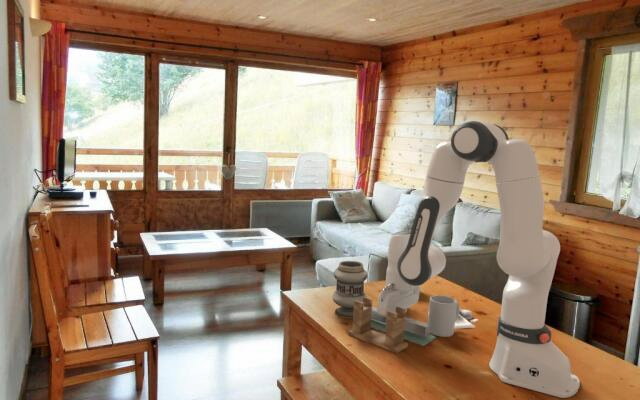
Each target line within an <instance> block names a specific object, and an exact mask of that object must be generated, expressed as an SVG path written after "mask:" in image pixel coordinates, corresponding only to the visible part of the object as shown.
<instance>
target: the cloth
mask: <svg viewBox="0 0 640 400" xmlns="http://www.w3.org/2000/svg"><path fill="white" fill-rule="evenodd" d="M427 314H428V316H429V311H428V312H427ZM468 320H469V321H470V322H469V321H468ZM478 321H479V319H478V318H474V319H473V314H472V311H471V310H468V309H462V308H460V310H459V316H458V318H457V320H456V321H455V327H454V330H458V329H459V330H460V329H474V328H476V325H474V324H473V323H476V322H478Z"/></svg>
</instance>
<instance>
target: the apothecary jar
mask: <svg viewBox="0 0 640 400" xmlns="http://www.w3.org/2000/svg"><path fill="white" fill-rule="evenodd" d="M368 275H369V274H368V272H367V271H366V270H365V269H364V264H363V263H362V262H360V261H355V260H343V261H340V262H339V263H338V267H337V268H335V270H334V271H333V277H334V278H335V280H336V288H335V291H334V292H333V293H332V297H331V298H332V301H333V303H334V304H336V305H337V306H339V307H337V308H336V309H335V310H334V314H336V315H337V316H338V317H339V318H344V319H353V313H354V301H355V300H357V301H360V302H363V297H367V295H366V293H365V291H364V289H365V288H364V284H365V283H364V282H365V281H366V280H367V279H368ZM367 298H368V297H367Z"/></svg>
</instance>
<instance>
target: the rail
mask: <svg viewBox="0 0 640 400" xmlns="http://www.w3.org/2000/svg"><path fill="white" fill-rule="evenodd" d="M371 319H374V320H377V321H380V322H383V323H386V321H387V317H384V316H381V315H378V313H377V306H373V305H372V314H371ZM404 330H407V331H409V332H412V333H415V334H418V335H421V336H424V337H425V336H427V335H431V333H430V324H428V323H426V322H423V321H420V320H416V319H413V318H410V317H407V316H405V328H404Z"/></svg>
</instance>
